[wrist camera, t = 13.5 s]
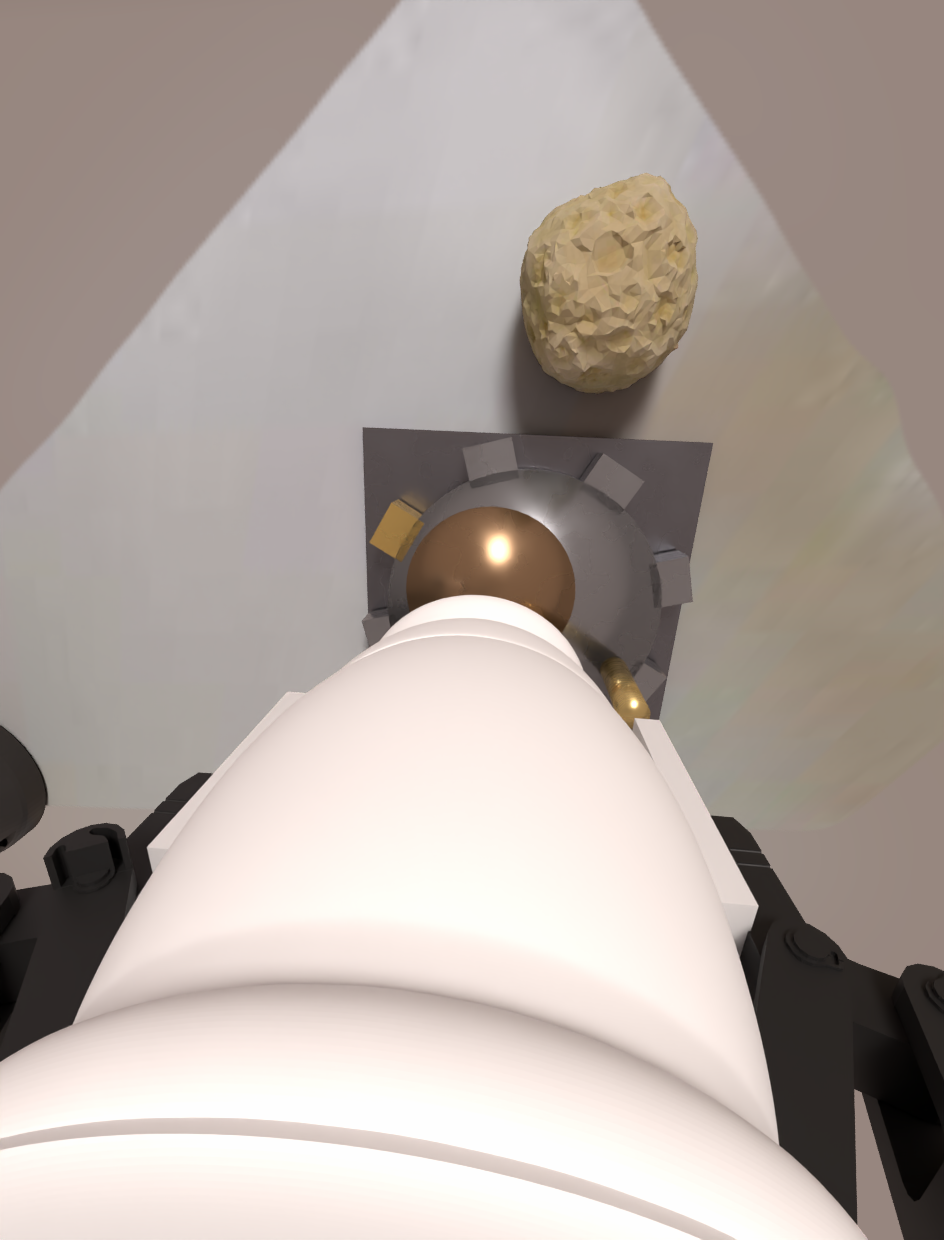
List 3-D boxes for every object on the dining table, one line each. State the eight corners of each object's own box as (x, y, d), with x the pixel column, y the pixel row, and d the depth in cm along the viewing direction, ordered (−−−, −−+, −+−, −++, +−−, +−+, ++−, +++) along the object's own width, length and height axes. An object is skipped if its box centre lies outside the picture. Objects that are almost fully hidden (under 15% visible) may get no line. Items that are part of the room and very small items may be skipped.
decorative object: (639, 239, 31) (595, 76, 22) (746, 338, 28) (743, 191, 19) (526, 354, 34) (449, 251, 26) (608, 455, 31) (552, 375, 22)
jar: (567, 839, 20) (691, 1714, 6) (323, 781, 20) (-96, 1535, 6) (656, 601, 17) (1405, 1415, 3) (360, 530, 17) (-432, 986, 3)
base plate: (366, 427, 33) (361, 427, 32) (708, 443, 31) (714, 443, 30) (374, 719, 40) (370, 725, 39) (650, 740, 39) (654, 748, 38)
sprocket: (318, 641, 37) (269, 692, 29) (472, 366, 30) (459, 340, 22) (558, 781, 39) (569, 861, 32) (750, 558, 32) (823, 592, 25)
